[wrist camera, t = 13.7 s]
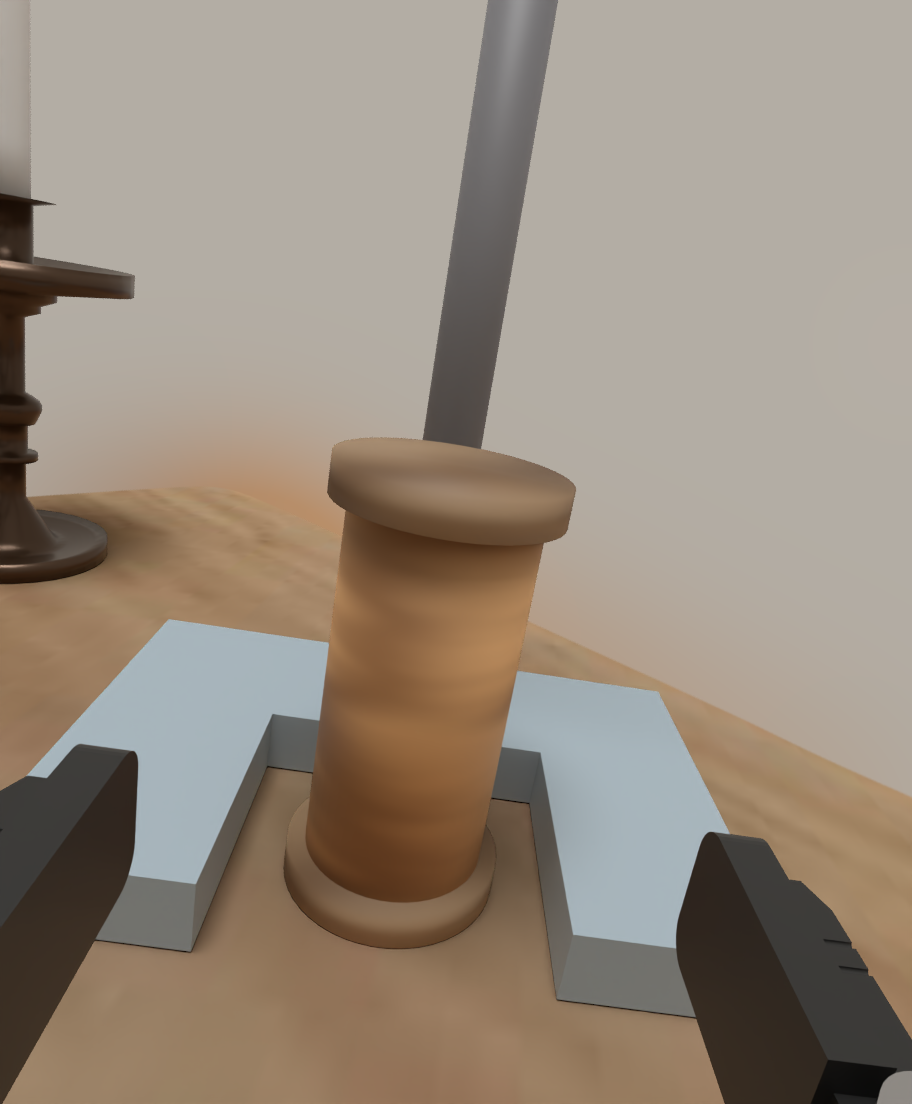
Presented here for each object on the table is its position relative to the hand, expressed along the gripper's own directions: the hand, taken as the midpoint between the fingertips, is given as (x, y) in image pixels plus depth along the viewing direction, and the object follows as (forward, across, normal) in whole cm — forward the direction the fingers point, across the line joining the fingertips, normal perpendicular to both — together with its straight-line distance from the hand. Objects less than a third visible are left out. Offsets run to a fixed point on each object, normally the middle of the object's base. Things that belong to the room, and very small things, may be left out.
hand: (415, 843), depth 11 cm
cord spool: (+10, 0, +8) cm, 13 cm away
